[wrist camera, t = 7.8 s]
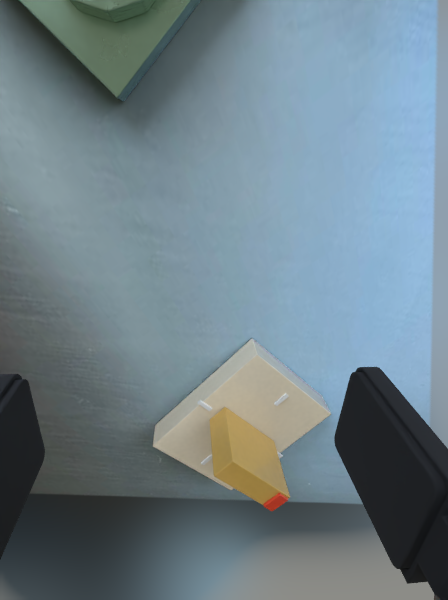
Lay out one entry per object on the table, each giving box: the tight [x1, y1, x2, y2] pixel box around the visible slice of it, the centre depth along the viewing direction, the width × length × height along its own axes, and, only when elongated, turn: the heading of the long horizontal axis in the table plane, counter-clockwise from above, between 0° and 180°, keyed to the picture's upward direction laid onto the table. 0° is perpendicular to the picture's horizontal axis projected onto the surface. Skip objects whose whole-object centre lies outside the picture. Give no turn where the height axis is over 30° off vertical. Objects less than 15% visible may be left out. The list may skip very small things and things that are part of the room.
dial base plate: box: [153, 339, 331, 490], centre depth 32 cm, size 13×11×3 cm
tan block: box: [209, 407, 290, 511], centre depth 28 cm, size 6×2×6 cm, turn 45°
